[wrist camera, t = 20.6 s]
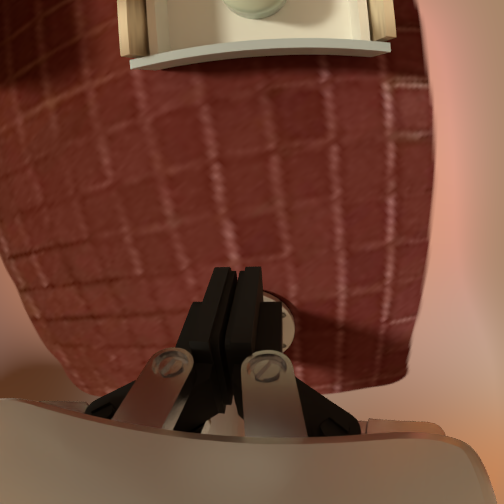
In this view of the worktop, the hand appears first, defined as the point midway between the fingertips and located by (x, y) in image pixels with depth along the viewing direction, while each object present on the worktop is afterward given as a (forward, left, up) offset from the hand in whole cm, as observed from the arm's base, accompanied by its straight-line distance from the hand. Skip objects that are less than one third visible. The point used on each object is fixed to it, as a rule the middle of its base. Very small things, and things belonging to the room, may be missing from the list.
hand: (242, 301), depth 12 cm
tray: (+17, 0, -23) cm, 29 cm away
